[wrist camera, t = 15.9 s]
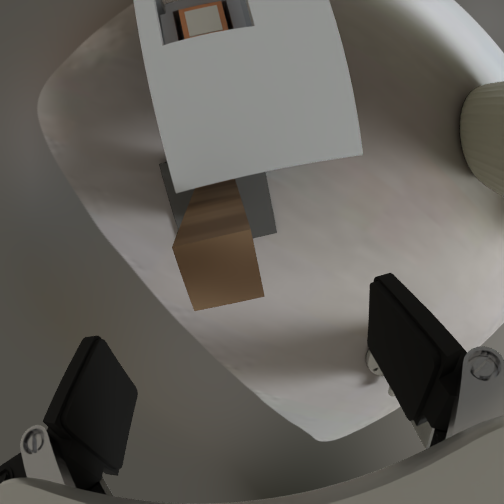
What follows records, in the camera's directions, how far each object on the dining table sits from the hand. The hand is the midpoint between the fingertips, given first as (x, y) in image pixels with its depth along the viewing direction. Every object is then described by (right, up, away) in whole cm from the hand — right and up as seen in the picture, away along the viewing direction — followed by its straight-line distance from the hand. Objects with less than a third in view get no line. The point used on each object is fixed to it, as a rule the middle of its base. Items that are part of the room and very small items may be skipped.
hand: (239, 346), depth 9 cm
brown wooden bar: (-3, +8, +16) cm, 18 cm away
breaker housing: (-1, +19, +12) cm, 22 cm away
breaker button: (-4, +21, +9) cm, 24 cm away
